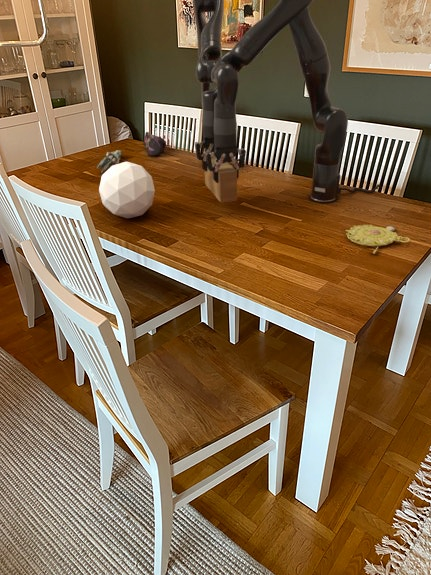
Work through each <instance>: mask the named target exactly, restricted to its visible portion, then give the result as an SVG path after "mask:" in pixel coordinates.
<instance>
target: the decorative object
mask: <svg viewBox="0 0 431 575" xmlns="http://www.w3.org/2000/svg"><path fill="white" fill-rule="evenodd" d="M395 230H396V228H395V227H394V226H390V225H389V226H386V227H381V226H377V225H374V224H371V223H370V224H362V225H360V224H358V225H353V227H350V228H349V229H345V232H346V233H345V235H346V236H347V239H348V240H349V241H350V242H353V243H355V244H357V245H361V246H366V247H376V248H375V249H374V250H373V252H372V254H373V255H375V254H376V253H377V252H378V251H377V250H378V249H379V247H383V246H387V245H389V244H392V243H393V242H397V243H404V244H407V243H410V242H411V238H409V237H408V236H401V235H400V236H399V234H398V232H396V231H395ZM403 239H406V240H403Z"/></svg>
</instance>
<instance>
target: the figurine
mask: <svg viewBox="0 0 431 575" xmlns="http://www.w3.org/2000/svg"><path fill="white" fill-rule="evenodd" d="M122 153H123V152H122V150H115V151H111V152H110V151H107V152H106V153H105V155H106V156H104V157H103V158H102V159H101V161H100V162H99V163H98V165H97V167H96V169H97V170H100V173H101V174H104V173H105V172H106V171H107V170H108V169H109V168H110V167H111V166H113V165H116V164H120V160H121V158H122V157H123V154H122Z"/></svg>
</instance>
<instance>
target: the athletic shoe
mask: <svg viewBox="0 0 431 575" xmlns="http://www.w3.org/2000/svg"><path fill="white" fill-rule="evenodd" d="M143 146H144V147H145V149H146V150H145V152H146V153H147V155H148V156H151V157H152V156H154V157H155V156H159V155H160V154H162V152H164V150H165V148H167V147H170V145H169V144H167V140H165V139H164V138H162V137H160V136H158V135H154V134H152V133H150V132H149V131H146V132H145V134H144V139H143Z"/></svg>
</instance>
